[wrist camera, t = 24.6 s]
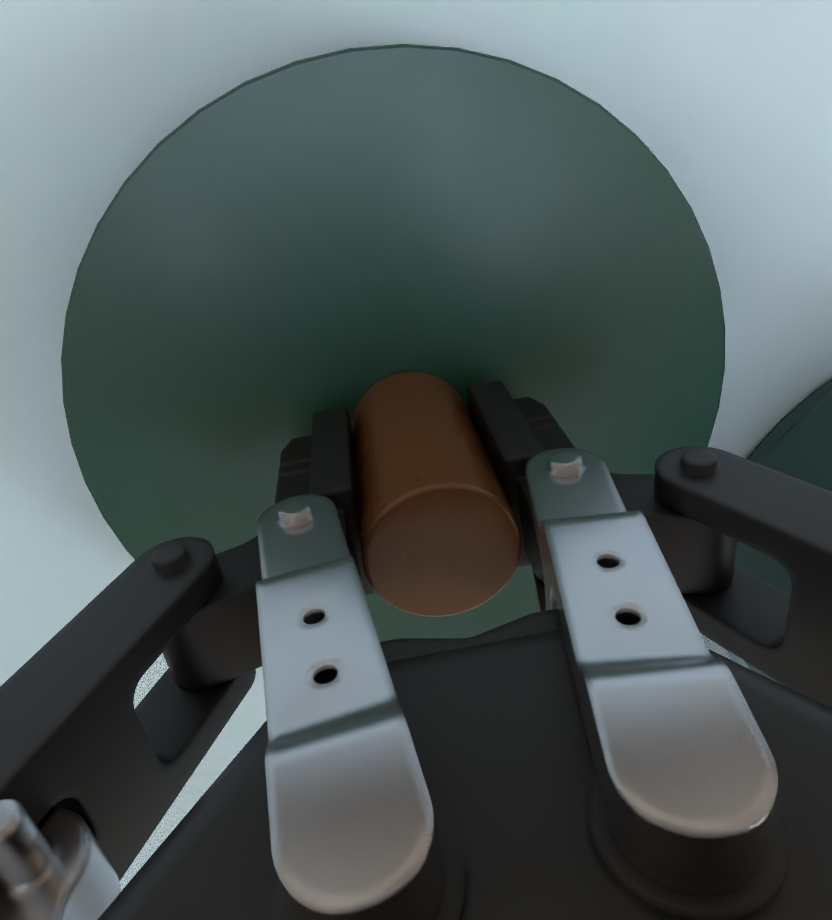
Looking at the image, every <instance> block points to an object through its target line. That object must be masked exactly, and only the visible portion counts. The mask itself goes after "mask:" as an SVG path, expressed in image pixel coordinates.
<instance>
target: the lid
mask: <svg viewBox="0 0 832 920" xmlns="http://www.w3.org/2000/svg"><path fill="white" fill-rule="evenodd" d="M61 365H62V386H63V403H64V408H65V413H66V418H67V423H68V428H69V433H70V438H71V443H72V446H73V449H74V452H75V455H76V458H77V461H78V463H79V466H80V469H81V472H82V475H83V477H84V480H85V483H86V485H87V487H88V489H89V491H90V493H91V494H92V496H93V498H94V500H95V502H96V504H97V506H98V508H99V510H100V512H101V514H102V516H103V518H104V519H105V520H106V522H107V523H108V525H109V526H110V527H111V529H112V530H113V532H114V533H115V535H116V536H117V537H118V539H119V540H120V542H121V543H122V545H123V546H124V547H125V549H126V550H127V551H128V552H129V553H130V554H131V555H132V557H133V558H134V559H135V560H136V559H137V558H138V557H139V556H141V555H142V554H143V553H144V552H146V551H147V550H149V549H151V548H153V547H154V546H156V545H159V544H161V543H163V542H166V541H169V540H173V539H176V538H182V537H199V538H203V539H206V540H207V541H209V542H210V543H211V544H212V546H213V549H214V552H215V554H218V553H221V552H223V551H226V550H229V549H231V548H234V547H237V546H239V545H241V544H244V543H246V542H248V541H249V540H251V539H253V538H254V537H256V536H257V535H258V533H257V521H258V518H259V517H260V515H261V514H262V513H263V512H264V511H265V510H266V509H267V508H269V507H270V506H272V505H273V504H275V497H276V489H277V481H278V477H279V476H278V473H279V467H280V457H281V451H282V450H283V449H284V448H285V447H286V446H287V444H288V443H289V442H290V441H291V440H292V439H294V438H300V437H305V436H311V435H312V418H313V413H314V412H320V411H325V410H331V409H337V408H342V407H346V408H347V411H348V415H349V420H350V424H351V429H352V434H353V444H354V457H355V470H356V483H357V495H358V508H359V521H360V540H361V553H362V563H363V568H364V572H365V575H366V577H367V579H368V581H369V583H370V585H371V586H372V587H373V589H374V594H370V595H365V596H366V600H367V603H368V606H369V609H370V612H371V616H372V619H373V622H374V625H375V629H376V632H377V635H378V638H379V641H380V642H383V641H388V640H393V639H399V638H469V637H473V636H476V635H479V634H481V633H484V632H486V631H489V630H491V629H494V628H496V627H499V626H501V625H504V624H506V623H509V622H511V621H514V620H516V619H519V618H521V617H524V616H526V615H529V614H531V613H536V612H538V607H537V602H536V597H535V590H534V577H533V569H532V566H531V565H526V566H521V567H517V565H518V562H519V559H520V555H521V549H522V536H521V529H520V526H519V523H518V521H517V518H516V516H515V514H514V512H513V510H512V507H511V505H510V503H509V501H508V498H507V496H506V494H505V492H504V490H503V487H502V485H501V483H500V481H499V479H498V476H497V474H496V472H495V470H494V467H493V465H492V463H491V461H490V459H489V456H488V454H487V452H486V450H485V447H484V445H483V443H482V441H481V439H480V436H479V434H478V432H477V430H476V428H475V425H474V423H473V421H472V419H471V416H470V414H469V410H468V401H467V386H468V385H473V384H478V383H484V382H490V381H495V380H501V381H502V382H503V384H504V385H505V387H506V389H507V390H508V392H509V394H510V395H511V397H512V398H513V399H519V398H524V397H530V398H532V399H534V400H536V401H538V402H540V403H542V404H544V405H545V406H546V407H547V409H548V410H549V411H550V413H551V414H552V416H553V418H555V420H556V421H557V423H558V424H559V427H561V428H562V430H563V431H564V433H565V434H566V435H567V437H568V438H569V440H570V441H571V442H572V444H573V445H574V447H575V448H578V449H584V450H587V451H591V452H593V453H595V454H597V455H598V456H600V457H601V458H602V459H603V460H604V462H605V464H606V466H607V468H608V471H609V472H611V473H617V474H655V462H656V460H657V458H658V457H659V456H660V455H662V454H663V453H665V452H667V451H669V450H672V449H676V448H680V447H688V446H702V447H707V446H708V443H709V440H710V437H711V433H712V430H713V426H714V422H715V419H716V415H717V412H718V408H719V403H720V396H721V390H722V383H723V376H724V369H725V323H724V315H723V307H722V300H721V292H720V286H719V283H718V279H717V275H716V272H715V268H714V264H713V261H712V257H711V253H710V250H709V247H708V244H707V242H706V240H705V238H704V235H703V233H702V231H701V228H700V226H699V224H698V222H697V219H696V217H695V215H694V213H693V210H692V208H691V206H690V205H689V203H688V202H687V200H686V199H685V197H684V195H683V194H682V192H681V191H680V189H679V188H678V186H677V184H676V183H675V181H674V180H673V178H672V177H671V175H670V173H669V172H668V170H667V169H666V168H665V167H664V166H663V165H662V163H661V162H660V161H659V160H658V159H657V158H656V157H655V155H654V154H653V153H652V152H651V151H650V150H649V149H648V148H647V146H646V145H645V144H644V143H643V142H642V141H641V140H640V138H639V137H638V136H637V135H636V134H635V133H633V132H632V131H631V130H630V129H629V128H627V127H626V126H625V125H624V124H623V123H621V122H620V121H619V120H618V119H617V118H615V117H614V116H613V115H612V114H611V113H609V112H608V111H607V110H606V109H605V108H603V107H602V106H601V105H600V104H598V103H597V102H595V101H593V100H591V99H590V98H588V97H586V96H585V95H583V94H581V93H580V92H578V91H576V90H575V89H573V88H571V87H570V86H568V85H566V84H565V83H563V82H561V81H560V80H558V79H556V78H554V77H551V76H549V75H546V74H544V73H541V72H539V71H536V70H534V69H531V68H529V67H526V66H524V65H521V64H519V63H516V62H514V61H511V60H508V59H504V58H500V57H495V56H491V55H487V54H482V53H478V52H474V51H469V50H465V49H461V48H454V47H440V46H426V45H413V44H396V45H384V46H371V47H359V48H348V49H344V50H340V51H336V52H332V53H327V54H323V55H319V56H315V57H311V58H307V59H302V60H298V61H295V62H292V63H290V64H287V65H285V66H283V67H280V68H278V69H275V70H273V71H270V72H268V73H265V74H263V75H260V76H258V77H256V78H253V79H251V80H248V81H246V82H244V83H242V84H241V85H239V86H237V87H236V88H234V89H232V90H231V91H229V92H227V93H226V94H224V95H222V96H221V97H219V98H217V99H216V100H214V101H212V102H211V103H209V104H207V105H206V106H204V107H202V108H201V109H199V110H198V111H196V112H195V113H194V114H193V115H192V116H190V117H189V118H188V119H187V120H186V121H184V122H183V123H182V124H181V125H180V126H178V127H177V128H176V129H175V130H174V131H172V132H171V133H170V134H169V135H168V136H166V137H165V138H164V139H163V140H162V141H160V142H159V143H158V144H157V145H156V146H155V148H154V149H153V150H152V151H151V152H150V153H149V154H148V155H147V157H146V158H145V159H144V160H143V161H142V162H141V163H140V165H139V166H138V167H137V168H136V169H135V170H134V171H133V172H132V174H131V175H130V176H129V177H128V178H127V179H126V180H125V182H124V183H123V184H122V186H121V188H120V189H119V191H118V192H117V194H116V195H115V197H114V199H113V200H112V202H111V203H110V205H109V206H108V208H107V210H106V211H105V213H104V214H103V216H102V217H101V219H100V221H99V222H98V224H97V226H96V228H95V230H94V233H93V235H92V237H91V239H90V242H89V244H88V246H87V249H86V251H85V253H84V255H83V258H82V260H81V262H80V265H79V267H78V269H77V273H76V277H75V281H74V285H73V288H72V292H71V296H70V300H69V304H68V308H67V311H66V317H65V327H64V336H63V346H62V356H61Z"/></svg>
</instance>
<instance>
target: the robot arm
mask: <svg viewBox="0 0 832 920" xmlns="http://www.w3.org/2000/svg"><path fill="white" fill-rule="evenodd" d="M467 401H468V410H469V414H470V416H471V419H472V421H473V423H474V425H475V428H476V430H477V432H478V434H479V436H480V439H481V441H482V443H483V445H484V447H485V450H486V452H487V454H488V456H489V459H490V461H491V463H492V465H493V467H494V470H495V472H496V474H497V476H498V479H499V481H500V483H501V485H502V487H503V490H504V492H505V494H506V496H507V498H508V501H509V503H510V505H511V507H512V510H513V512H514V514H515V516H516V518H517V521H518V523H519V526H520V529H521V536H522V549H521V555H520V559H519V562H518V565H517V567H521V566H526V565H531V566H532V569H533V577H534V590H535V597H536V602H537V607H538V612H536V613H531V614H529V615H526V616H524V617H521V618H519V619H516V620H514V621H511V622H509V623H506V624H504V625H501V626H499V627H496V628H494V629H491V630H489V631H486V632H484V633H481V634H479V635H476V636H473V637H469V638H399V639H393V640H388V641H383V642H380V641H379V638H378V635H377V632H376V629H375V625H374V622H373V619H372V616H371V612H370V609H369V606H368V603H367V600H366V596H365V595H370V594H374V589H373V587H372V586H371V585H370V583H369V581H368V579H367V577H366V575H365V572H364V568H363V563H362V553H361V540H360V521H359V508H358V495H357V483H356V470H355V457H354V444H353V434H352V429H351V424H350V420H349V415H348V411H347V408H346V407H342V408H337V409H331V410H325V411H320V412H314V413H313V418H312V435H311V436H305V437H300V438H294V439H292V440H291V441H290V442H289V443H288V444H287V446H286V447H285V448H284V449H283V450H282V451H281V457H280V467H279V473H278V476H279V477H278V481H277V489H276V497H275V504H273V505H272V506H270V507H269V508H267V509H266V510H265V511H264V512H263V513H262V514H261V515H260V517H259V518H258V521H257V533H258V535H257V536H256V537H254V538H253V539H251V540H249V541H248V542H246V543H244V544H241V545H239V546H237V547H234V548H231V549H229V550H226V551H223V552H221V553H218V554H215V552H214V549H213V546H212V544H211V543H210V542H209V541H207V540H206V539H203V538H199V537H182V538H176V539H173V540H169V541H166V542H163V543H161V544H159V545H156V546H154V547H153V548H151V549H149V550H147V551H146V552H144V553H143V554H142V555H141V556H139V557H138V558H137V559H136V560H135V561H134V562H133V563H132V564H131V565H130V566H129V567H127V568H126V569H125V570H124V571H123V572H122V573H121V574H120V575H119V576H118V577H117V578H116V579H115V580H114V581H113V582H111V583H110V584H109V585H108V586H107V587H106V588H105V589H104V590H103V591H102V592H101V593H100V594H99V595H98V596H97V597H95V598H94V599H93V600H92V601H91V602H90V603H89V604H88V605H87V606H86V607H85V608H84V609H83V610H82V611H81V612H80V613H78V614H77V615H76V616H75V617H74V618H73V619H72V620H71V621H70V622H69V623H68V624H67V625H66V626H65V627H64V628H62V629H61V630H60V631H59V632H58V633H57V634H56V635H55V636H54V637H53V638H52V639H51V640H50V641H49V642H48V643H47V644H45V645H44V646H43V647H42V648H41V649H40V650H39V651H38V652H37V653H36V654H35V655H34V656H33V657H32V658H31V659H29V660H28V661H27V662H26V663H25V664H24V665H23V666H22V667H21V668H20V669H19V670H18V671H17V672H16V673H15V674H14V675H12V676H11V677H10V678H9V679H8V680H7V681H6V682H5V683H4V684H3V685H2V686H1V687H0V920H832V491H829V490H827V489H824V488H821V487H819V486H816V485H813V484H811V483H808V482H805V481H803V480H800V479H797V478H795V477H792V476H790V475H787V474H784V473H782V472H779V471H776V470H774V469H771V468H768V467H766V466H763V465H760V464H758V463H755V462H752V461H750V460H747V459H744V458H742V457H739V456H736V455H734V454H731V453H728V452H726V451H723V450H720V449H716V448H711V447H702V446H688V447H680V448H676V449H672V450H669V451H667V452H665V453H663V454H662V455H660V456H659V457H658V458H657V460H656V462H655V474H617V473H611V472H609V471H608V468H607V466H606V464H605V462H604V460H603V459H602V458H601V457H600V456H598V455H597V454H595V453H593V452H591V451H587V450H584V449H578V448H575V447H574V445H573V444H572V442H571V441H570V440H569V438H568V437H567V435H566V434H565V433H564V431H563V430H562V428H561V427H559V424H558V423H557V421H556V420H555V418H553V416H552V414H551V413H550V411H549V410H548V409H547V407H546V406H545V405H544V404H542V403H540V402H538V401H536V400H534V399H532V398H530V397H524V398H519V399H513V398H512V397H511V395H510V394H509V392H508V390H507V389H506V387H505V385H504V384H503V382H502V381H501V380H495V381H490V382H484V383H478V384H473V385H468V386H467ZM737 541H739V542H741V543H743V544H745V545H747V546H749V547H751V548H753V549H755V550H757V551H759V552H761V553H763V554H765V555H767V556H770V557H772V558H773V559H775V560H776V561H778V562H779V563H780V564H781V565H782V566H783V567H784V568H785V569H786V571H787V572H788V574H789V576H790V579H791V582H792V590H791V594H789V593H787V592H785V591H783V590H781V589H779V588H777V587H775V586H773V585H771V584H769V583H768V582H766V581H764V580H762V579H760V578H758V577H756V576H754V575H752V574H750V573H748V572H746V571H744V570H742V569H740V568H739V567H737V566H735V555H736V545H737ZM700 633H701V634H703V635H705V636H706V637H708V638H709V639H711V640H712V641H714V642H716V643H717V644H719V645H720V646H722V647H724V648H725V649H727V650H728V651H730V652H731V653H733V654H735V655H736V656H738V657H739V658H741V659H743V660H744V661H746V662H747V663H749V664H750V665H752V666H754V667H755V668H757V669H758V670H760V671H762V672H763V673H765V674H766V675H768V676H770V677H771V678H773V679H774V680H776V681H777V682H779V683H777V682H775V681H773V680H771V679H769V678H767V677H765V676H763V675H761V674H759V673H757V672H755V671H753V670H750V669H748V668H746V667H744V666H742V665H740V664H738V663H736V662H734V661H732V660H730V659H728V658H725V657H723V656H721V655H719V654H717V653H715V652H713V651H711V650H709V649H708V648H707V646H706V644H705V642H704V640H703V638H702V636H701V634H700ZM161 653H163V655H164V657H165V660H166V662H167V664H168V667H169V668H168V670H167V671H166V672H165V673H164V674H163V676H162V677H161V678H160V679H159V681H158V682H157V683H156V684H155V685H154V687H153V688H152V689H151V690H150V691H149V693H148V694H147V695H146V696H145V697H144V699H143V700H142V701H141V702H140V703H139V705H138V706H137V707H136V708H135V709H134V705H133V699H134V693H135V689H136V686H137V684H138V682H139V680H140V678H141V677H142V676H143V674H144V673H145V672H146V671H147V670H148V669H149V667H150V666H151V665H152V664H153V663H154V662H155V660H156V659H157V658H158V657H159V656H160V655H161ZM261 666H262V667H263V679H264V691H265V703H266V715H267V720H266V722H265V723H264V724H263V725H262V726H261V728H260V729H259V730H258V731H257V732H256V733H255V735H254V736H253V737H252V738H251V739H250V741H249V742H248V743H247V744H246V745H245V746H244V748H243V749H242V750H241V751H240V752H239V754H238V755H237V756H236V757H235V758H234V759H233V761H232V762H231V763H230V764H229V765H228V766H227V768H226V769H225V770H224V771H223V772H222V774H221V775H220V776H219V777H218V778H217V779H216V781H215V782H214V783H213V784H212V785H211V787H210V788H209V789H208V790H207V791H206V792H205V794H204V795H203V796H202V797H201V798H200V799H199V801H198V802H197V803H196V804H195V805H194V807H193V808H192V809H191V810H190V811H189V812H188V814H187V815H186V816H185V817H184V818H183V819H182V821H181V822H180V823H179V824H178V825H177V827H176V828H175V829H174V830H173V831H172V832H171V834H170V835H169V836H168V837H167V838H166V839H165V841H164V842H163V843H162V844H161V845H160V847H159V848H158V849H157V850H156V851H155V852H154V854H153V855H152V856H151V857H150V858H149V859H148V861H147V862H146V863H145V864H144V865H143V867H142V868H141V869H140V870H139V871H138V872H137V874H136V875H135V876H134V877H133V878H132V879H131V881H130V882H129V883H128V884H127V885H126V887H125V888H124V889H123V890H122V891H121V892H120V882H119V881H120V880H121V878H122V877H123V875H124V874H125V873H126V871H127V870H128V868H129V867H130V865H131V864H132V862H133V861H134V859H135V858H136V856H137V855H138V853H139V852H140V850H141V849H142V847H143V846H144V844H145V843H146V842H147V840H148V839H149V837H150V836H151V834H152V833H153V831H154V830H155V828H156V827H157V825H158V824H159V822H160V821H161V819H162V818H163V816H164V815H165V813H166V812H167V810H168V809H169V808H170V806H171V805H172V803H173V802H174V800H175V799H176V797H177V796H178V794H179V793H180V791H181V790H182V788H183V787H184V785H185V784H186V782H187V781H188V779H189V778H190V776H191V775H192V774H193V772H194V771H195V769H196V768H197V766H198V765H199V763H200V762H201V760H202V759H203V757H204V756H205V754H206V753H207V751H208V750H209V748H210V747H211V745H212V744H213V743H214V741H215V740H216V738H217V737H218V735H219V734H220V732H221V731H222V729H223V728H224V726H225V725H226V723H227V722H228V720H229V719H230V717H231V716H232V714H233V713H234V711H235V710H236V709H237V707H238V706H239V704H240V703H241V701H242V700H243V698H244V697H245V695H246V694H247V692H248V691H249V689H250V688H251V686H252V684H253V682H254V680H255V675H256V670H255V669H256V668H258V667H261ZM780 683H781V684H780Z"/></svg>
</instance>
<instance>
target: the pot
mask: <svg viewBox="0 0 832 920" xmlns="http://www.w3.org/2000/svg"><path fill="white" fill-rule="evenodd" d="M748 460H750V461H752V462H755V463H758V464H760V465H763V466H766V467H768V468H771V469H774V470H776V471H779V472H782V473H784V474H787V475H790V476H792V477H795V478H797V479H800V480H803V481H805V482H808V483H811V484H813V485H816V486H819V487H821V488H824V489H827V490H829V491H832V380H831V381H830V382H829V383H827V384H826V385H824V386H823V387H822V388H820V389H819V390H818V391H816V392H815V393H813V394H812V395H811V396H809V397H808V398H807V399H806V400H805V401H803V402H802V403H801V404H800V405H799V406H798V407H797V408H796V409H794V410H793V411H792V412H791V413H790V414H789V415H788V416H787V417H785V418H784V419H783V420H782V421H781V422H780V423H779V424H778V425H777V426H776V428H775V429H774V430H773V431H772V432H771V433H770V434H769V435H768V436H767V437H766V438H765V439H764V440H763V441H762V443H761V444H760V445H759V446H758V447H757V449H756V450H755V451H754V453H753V454H752V455H751V457H750V458H749V459H748ZM735 566H737V567H739V568H740V569H742V570H744V571H746V572H748V573H750V574H752V575H754V576H756V577H758V578H760V579H762V580H764V581H766V582H768V583H769V584H771V585H773V586H775V587H777V588H779V589H781V590H783V591H785V592H787V593H789V594H791V590H792V582H791V579H790V576H789V574H788V572H787V571H786V569H785V568H784V567H783V566H782V565H781V564H780V563H779V562H778V561H776V560H775V559H773V558H772V557H770V556H767V555H765V554H763V553H761V552H759V551H757V550H755V549H753V548H751V547H749V546H747V545H745V544H743V543H741V542H739V541H737V545H736V555H735ZM728 652H729V654H730V656H731V658H732V660H733V661H734V662H736V663H738V664H740V665H742V666H744V667H746V668H748V669H750V670H753V671H755V672H757V673H759V674H761V675H763V676H765V677H767V678H769V679H771V680H773V681H775V682H777V681H776V680H774V679H773V678H771V677H770V676H768V675H766V674H765V673H763V672H762V671H760V670H758V669H757V668H755V667H754V666H752V665H750V664H749V663H747V662H746V661H744V660H743V659H741V658H739V657H738V656H736V655H735V654H733V653H731V652H730V651H728ZM777 683H779V682H777ZM780 684H781V683H780Z"/></svg>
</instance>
